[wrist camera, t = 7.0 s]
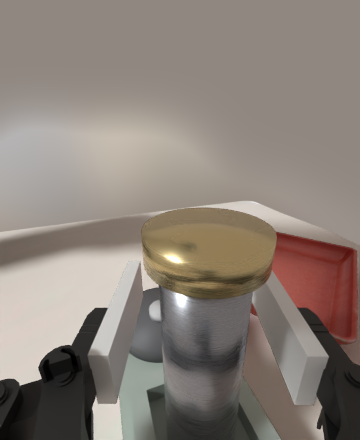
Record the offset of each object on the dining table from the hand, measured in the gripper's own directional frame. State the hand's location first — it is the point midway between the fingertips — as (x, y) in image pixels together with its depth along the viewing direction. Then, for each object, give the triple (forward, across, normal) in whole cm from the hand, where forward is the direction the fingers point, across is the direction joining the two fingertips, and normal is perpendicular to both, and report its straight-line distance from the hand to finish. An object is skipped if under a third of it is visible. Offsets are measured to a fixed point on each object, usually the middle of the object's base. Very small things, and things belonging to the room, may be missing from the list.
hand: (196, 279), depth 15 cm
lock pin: (-5, 0, -6) cm, 8 cm away
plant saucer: (+12, +10, -9) cm, 18 cm away
